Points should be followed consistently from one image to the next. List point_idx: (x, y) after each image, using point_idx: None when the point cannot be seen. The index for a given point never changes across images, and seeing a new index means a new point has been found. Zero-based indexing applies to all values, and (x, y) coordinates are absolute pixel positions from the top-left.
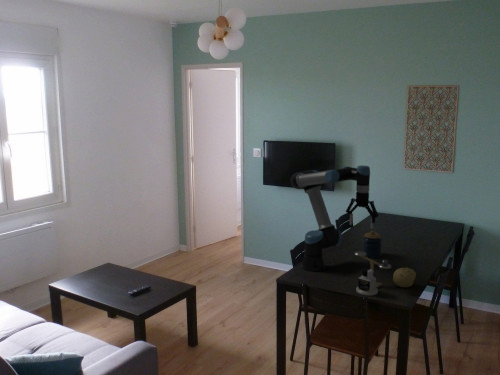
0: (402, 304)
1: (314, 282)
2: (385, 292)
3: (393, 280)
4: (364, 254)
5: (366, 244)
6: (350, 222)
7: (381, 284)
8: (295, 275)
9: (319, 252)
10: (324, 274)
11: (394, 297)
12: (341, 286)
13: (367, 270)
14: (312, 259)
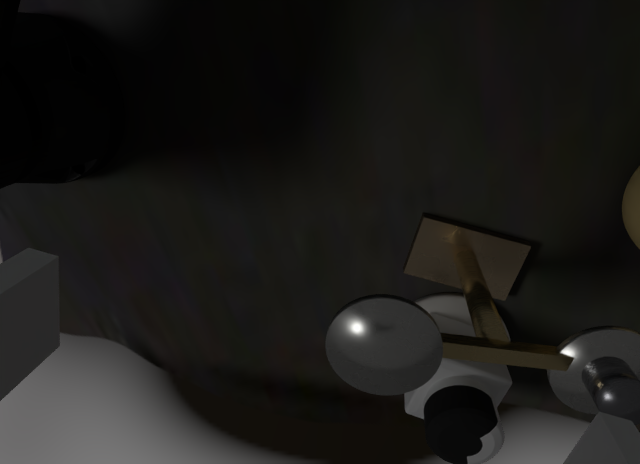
0: (637, 426)
1: (167, 317)
2: (551, 325)
3: (622, 214)
4: (427, 369)
5: None
6: (10, 382)
7: (528, 244)
8: None
9: (10, 166)
10: (164, 196)
11: None
12: (307, 322)
13: (466, 458)
14: (19, 182)
